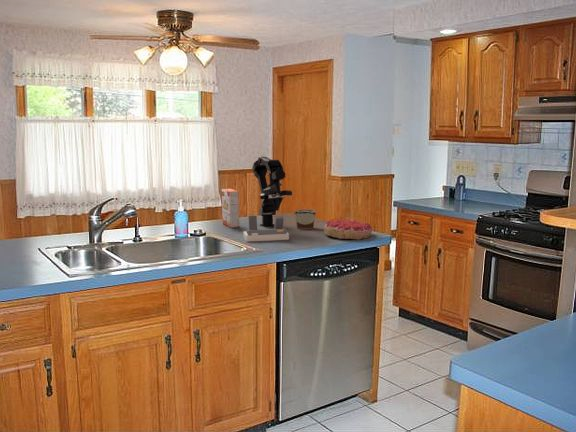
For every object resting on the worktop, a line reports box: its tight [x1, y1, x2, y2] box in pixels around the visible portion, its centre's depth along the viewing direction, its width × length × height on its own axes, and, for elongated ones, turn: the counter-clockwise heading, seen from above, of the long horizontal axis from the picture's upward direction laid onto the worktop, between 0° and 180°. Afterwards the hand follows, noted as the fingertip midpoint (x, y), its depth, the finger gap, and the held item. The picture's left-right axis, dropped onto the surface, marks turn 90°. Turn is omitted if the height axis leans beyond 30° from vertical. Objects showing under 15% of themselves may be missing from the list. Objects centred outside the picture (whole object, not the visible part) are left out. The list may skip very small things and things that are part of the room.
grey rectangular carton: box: [273, 215, 284, 229], centre depth 280 cm, size 2×4×8 cm, turn 102°
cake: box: [323, 218, 373, 240], centre depth 288 cm, size 25×25×8 cm
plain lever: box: [248, 215, 258, 230], centre depth 281 cm, size 2×4×8 cm, turn 101°
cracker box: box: [221, 188, 240, 229], centre depth 315 cm, size 14×6×21 cm, turn 25°
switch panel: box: [242, 227, 290, 242], centre depth 281 cm, size 11×22×6 cm, turn 102°
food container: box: [294, 209, 317, 230], centre depth 310 cm, size 12×6×10 cm, turn 84°
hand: (277, 210), depth 299 cm, fingers closed
